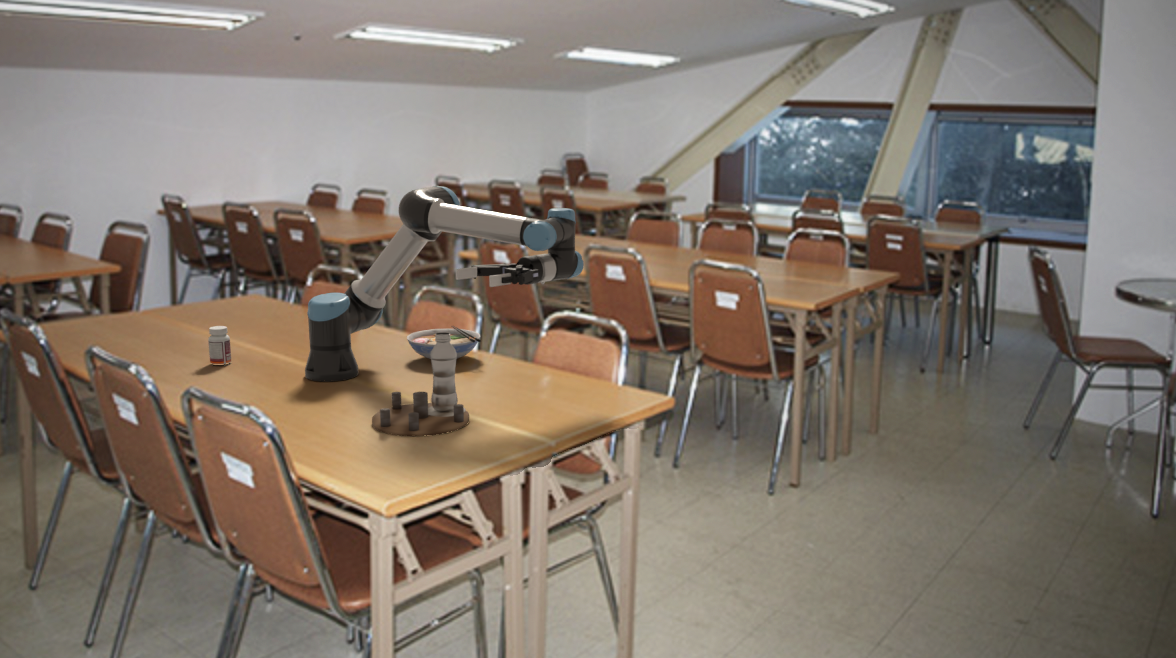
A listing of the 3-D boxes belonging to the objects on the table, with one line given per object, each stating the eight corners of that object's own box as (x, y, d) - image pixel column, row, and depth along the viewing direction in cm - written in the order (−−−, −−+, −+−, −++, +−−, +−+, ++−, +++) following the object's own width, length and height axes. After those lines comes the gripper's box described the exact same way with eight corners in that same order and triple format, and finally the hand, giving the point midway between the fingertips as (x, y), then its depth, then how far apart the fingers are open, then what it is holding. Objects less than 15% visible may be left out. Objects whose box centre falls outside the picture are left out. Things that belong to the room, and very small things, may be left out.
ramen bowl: (398, 353, 325) (397, 328, 323) (468, 347, 334) (467, 323, 332) (418, 372, 303) (417, 345, 301) (491, 365, 311) (491, 338, 310)
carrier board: (362, 436, 244) (361, 407, 242) (382, 407, 267) (381, 380, 266) (463, 436, 244) (462, 407, 242) (474, 407, 267) (473, 381, 266)
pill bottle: (227, 360, 316) (224, 324, 313) (234, 364, 311) (232, 327, 309) (207, 363, 312) (204, 327, 309) (214, 367, 307) (211, 330, 305)
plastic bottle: (432, 407, 264) (429, 331, 259) (458, 406, 264) (456, 330, 260) (430, 414, 257) (428, 336, 253) (457, 413, 258) (455, 336, 254)
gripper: (567, 289, 267) (505, 299, 253) (504, 277, 284) (443, 285, 270) (567, 260, 266) (505, 269, 251) (504, 250, 283) (442, 257, 268)
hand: (472, 278), depth 260 cm, fingers open, 13 cm apart
